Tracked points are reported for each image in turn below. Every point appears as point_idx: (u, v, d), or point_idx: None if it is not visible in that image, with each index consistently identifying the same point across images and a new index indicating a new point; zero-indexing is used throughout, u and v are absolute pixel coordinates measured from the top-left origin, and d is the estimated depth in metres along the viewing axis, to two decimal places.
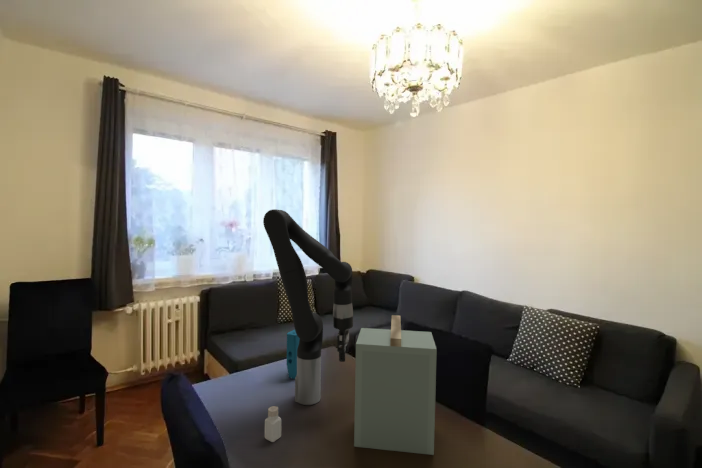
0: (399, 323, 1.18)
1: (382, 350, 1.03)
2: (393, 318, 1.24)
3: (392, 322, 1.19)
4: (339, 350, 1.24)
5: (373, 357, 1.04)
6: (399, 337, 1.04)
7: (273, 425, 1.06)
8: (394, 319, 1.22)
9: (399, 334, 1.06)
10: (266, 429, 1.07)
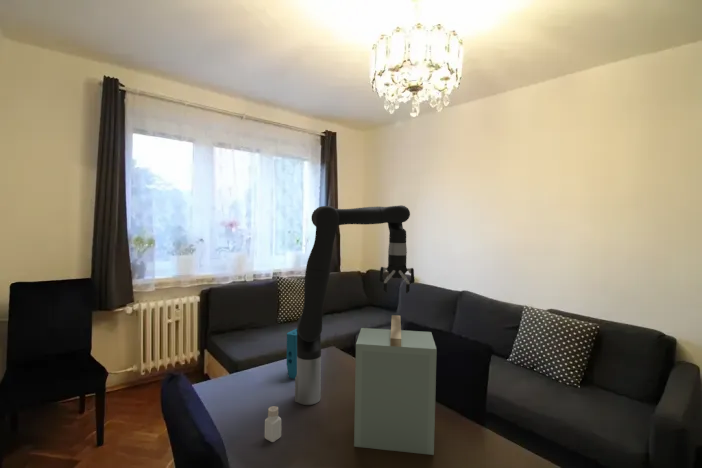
0: (399, 323, 1.18)
1: (382, 350, 1.03)
2: (393, 318, 1.24)
3: (392, 322, 1.19)
4: None
5: (373, 357, 1.04)
6: (399, 337, 1.04)
7: (273, 425, 1.06)
8: (394, 319, 1.22)
9: (399, 334, 1.06)
10: (266, 429, 1.07)
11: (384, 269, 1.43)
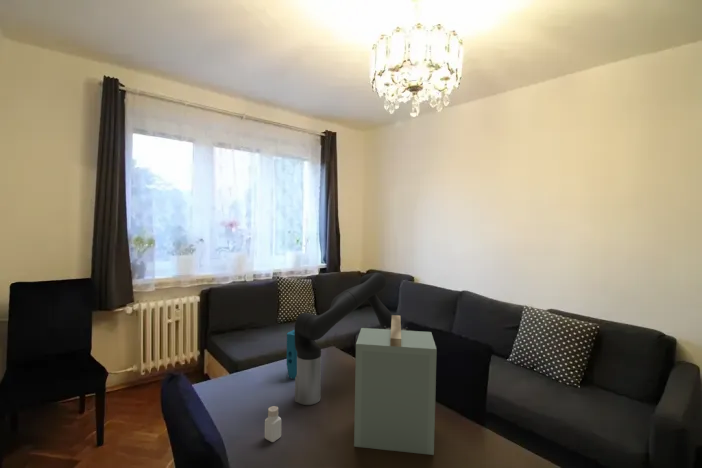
0: (399, 323, 1.18)
1: (382, 350, 1.03)
2: (393, 318, 1.24)
3: (392, 322, 1.19)
4: None
5: (373, 357, 1.04)
6: (399, 337, 1.04)
7: (273, 425, 1.06)
8: (394, 319, 1.22)
9: (399, 334, 1.06)
10: (266, 429, 1.07)
11: None
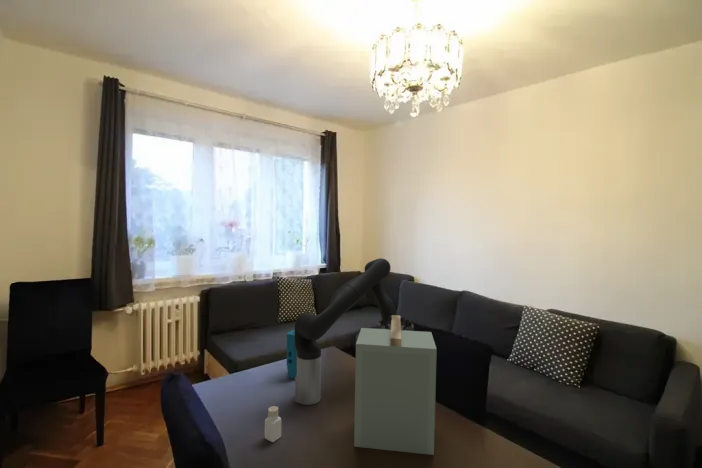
0: (399, 323, 1.18)
1: (382, 350, 1.03)
2: (393, 318, 1.24)
3: (392, 322, 1.19)
4: (408, 322, 1.26)
5: (373, 357, 1.04)
6: (399, 337, 1.04)
7: (273, 425, 1.06)
8: (394, 319, 1.22)
9: (399, 334, 1.06)
10: (266, 429, 1.07)
11: None
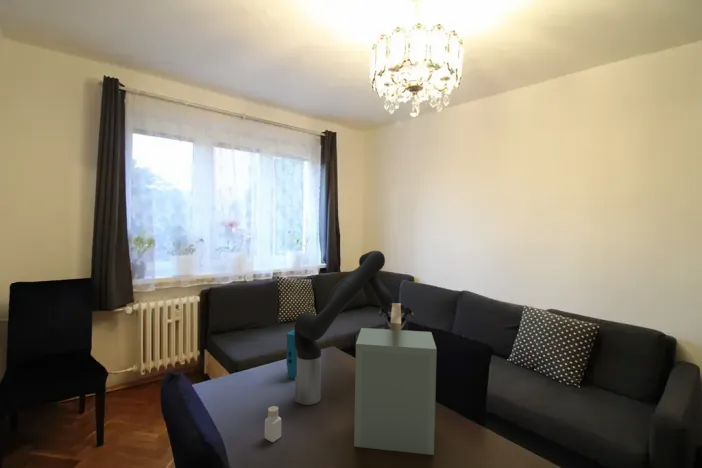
0: (399, 310, 1.21)
1: (382, 350, 1.03)
2: (393, 305, 1.27)
3: (392, 309, 1.22)
4: (408, 309, 1.28)
5: (373, 357, 1.04)
6: (399, 322, 1.06)
7: (273, 425, 1.06)
8: (394, 307, 1.25)
9: (399, 319, 1.09)
10: (266, 429, 1.07)
11: None
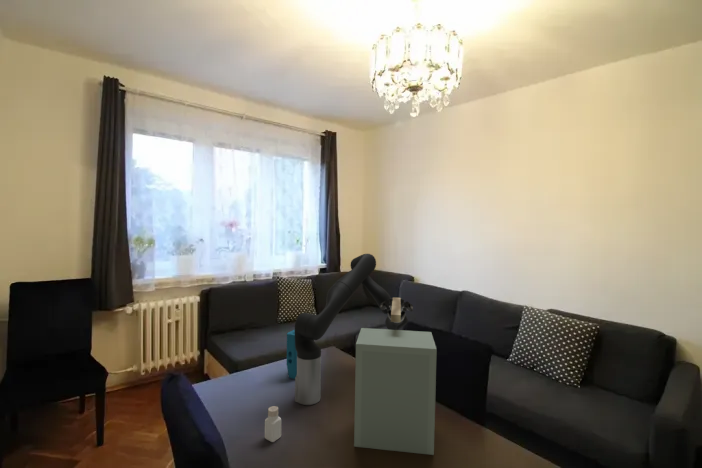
0: (399, 303, 1.29)
1: (382, 350, 1.03)
2: (394, 299, 1.35)
3: (393, 302, 1.30)
4: (408, 303, 1.37)
5: (373, 357, 1.04)
6: (399, 314, 1.15)
7: (273, 425, 1.06)
8: (395, 301, 1.34)
9: (399, 311, 1.18)
10: (266, 429, 1.07)
11: None
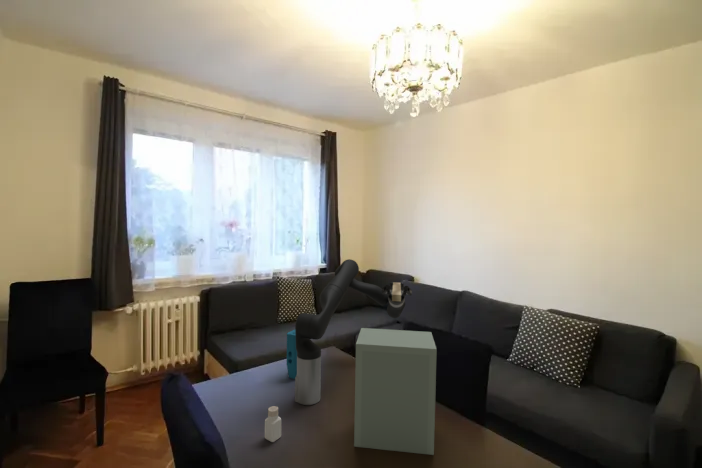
0: (399, 286, 1.39)
1: (382, 350, 1.03)
2: (394, 284, 1.45)
3: (393, 286, 1.40)
4: (407, 287, 1.47)
5: (373, 357, 1.04)
6: (399, 294, 1.25)
7: (273, 425, 1.06)
8: (395, 285, 1.44)
9: (399, 292, 1.28)
10: (266, 429, 1.07)
11: None
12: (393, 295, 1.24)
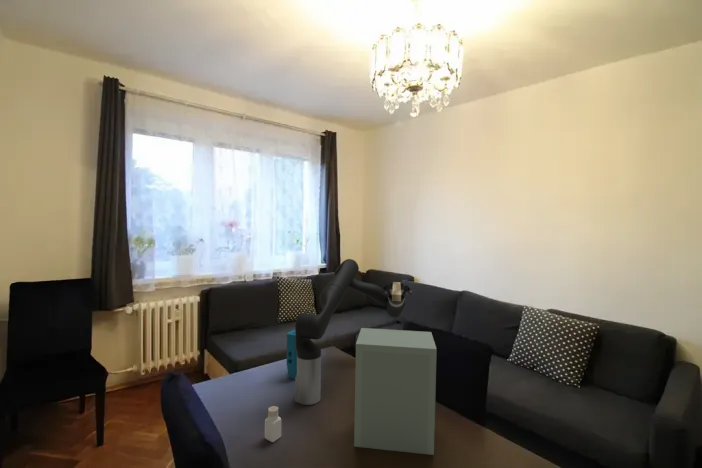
0: (399, 286, 1.39)
1: (382, 350, 1.03)
2: (394, 283, 1.45)
3: (393, 286, 1.40)
4: (407, 287, 1.47)
5: (373, 357, 1.04)
6: (399, 294, 1.25)
7: (273, 425, 1.06)
8: (395, 284, 1.44)
9: (399, 292, 1.28)
10: (266, 429, 1.07)
11: None
12: (393, 295, 1.24)
